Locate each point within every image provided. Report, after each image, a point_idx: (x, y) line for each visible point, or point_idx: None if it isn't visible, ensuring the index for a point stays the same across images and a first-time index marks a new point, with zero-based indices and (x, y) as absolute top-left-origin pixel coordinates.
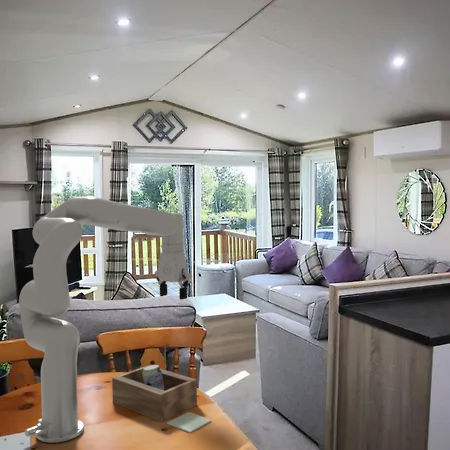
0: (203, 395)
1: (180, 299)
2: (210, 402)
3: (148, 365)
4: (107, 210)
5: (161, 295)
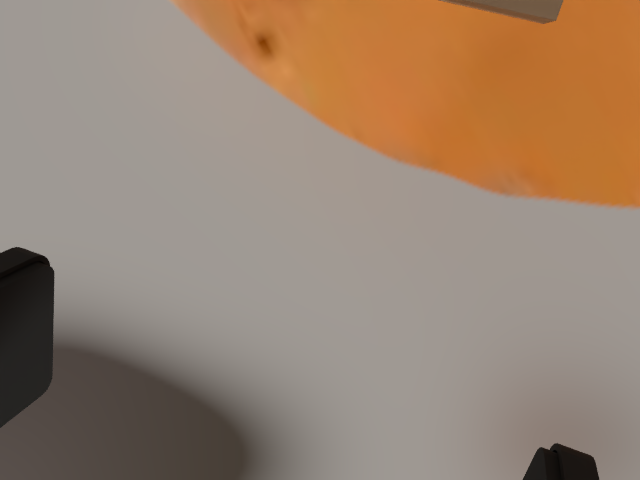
0: (241, 61)
1: (43, 260)
2: (177, 2)
3: (552, 13)
4: None
5: (542, 452)
